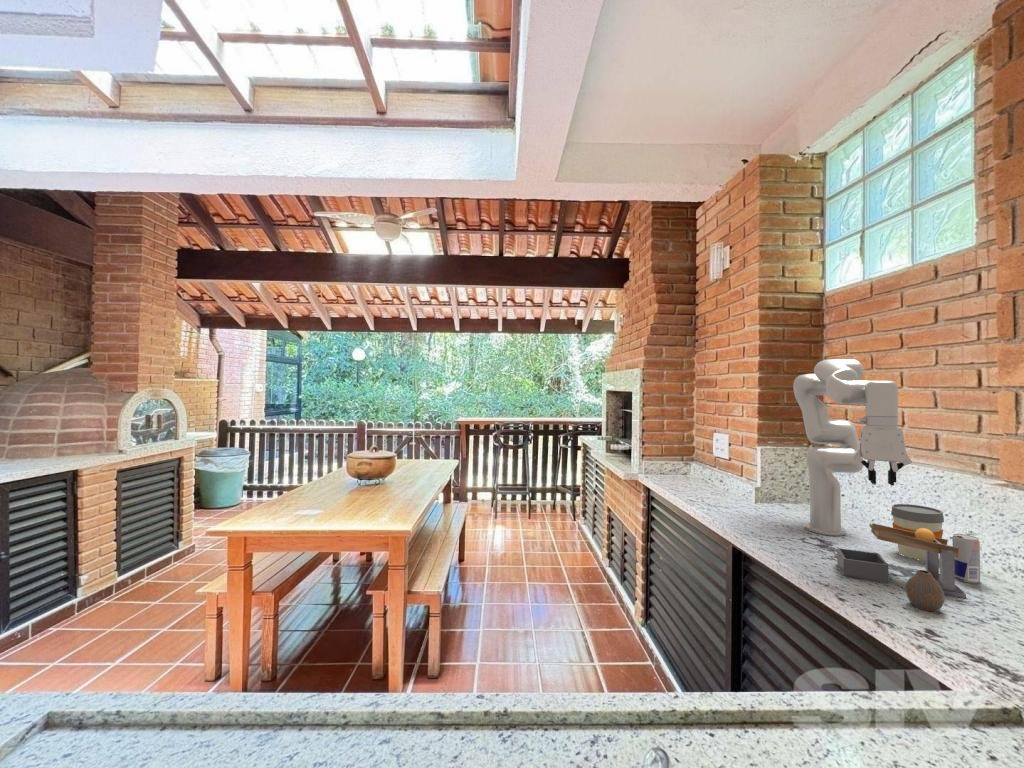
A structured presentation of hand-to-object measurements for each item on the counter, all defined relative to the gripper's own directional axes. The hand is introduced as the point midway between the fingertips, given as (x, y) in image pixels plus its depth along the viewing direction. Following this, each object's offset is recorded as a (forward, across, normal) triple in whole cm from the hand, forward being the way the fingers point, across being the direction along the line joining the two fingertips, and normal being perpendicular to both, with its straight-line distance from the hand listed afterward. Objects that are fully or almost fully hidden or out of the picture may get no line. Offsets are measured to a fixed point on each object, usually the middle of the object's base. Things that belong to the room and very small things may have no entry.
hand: (882, 483), depth 133 cm
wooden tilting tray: (+15, +5, -4) cm, 16 cm away
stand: (+25, +10, -7) cm, 28 cm away
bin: (+25, -6, -7) cm, 27 cm away
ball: (+12, +8, -7) cm, 16 cm away
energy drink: (+25, +18, +1) cm, 31 cm away
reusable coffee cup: (+25, +12, +18) cm, 33 cm away
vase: (+25, +2, -25) cm, 36 cm away
